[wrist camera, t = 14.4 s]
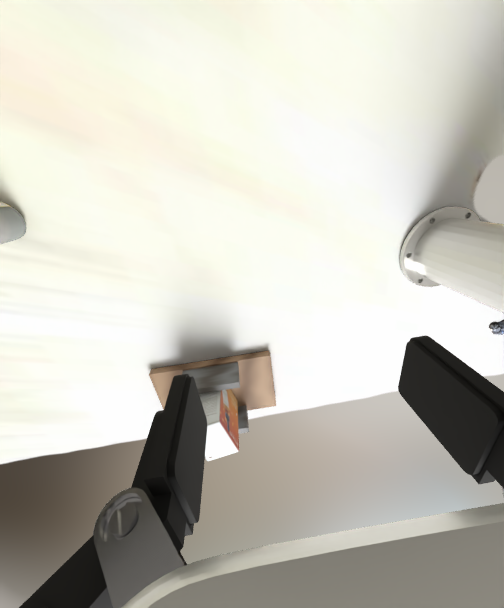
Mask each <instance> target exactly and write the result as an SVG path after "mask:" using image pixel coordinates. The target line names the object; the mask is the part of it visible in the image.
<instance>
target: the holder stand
mask: <svg viewBox="0 0 504 608" xmlns="http://www.w3.org/2000/svg"><path fill="white" fill-rule="evenodd" d="M182 374H189V376H190V377H192V376H193V377H194V379H195V383H196V386H197V389H198V392H199V394H203V393H209V392H215V391H221V390H227V389H231V391H232V392H233V394H234V396H235V397H236V399H237V401H238V434H239V433H245V432H249V428H248V415H247V410H253V409H259V408H265V407H271V406H276V400H275V391H274V383H273V374H272V366H271V357H270V352H269V351H262V352H256V353H250V354H244V355H237V356H231V357H225V358H218V359H212V360H206V361H199V362H193V363H187V364H180V365H174V366H168V367H161V368H155V369H151V371H150V374H149V376H150V378H151V380H152V383H153V385H154V388H155V390H156V392H157V395H158V397H159V400H160V402H161V404H162V407H163V409H164V407H165V404H166V400H167V397H168V394H169V390H170V387H171V383H172V380H173V377H174V376H176V375H182Z"/></svg>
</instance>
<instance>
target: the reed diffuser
mask: <svg viewBox="0 0 504 608" xmlns="http://www.w3.org/2000/svg"><path fill="white" fill-rule="evenodd" d="M25 232H26V224H25V221H24V219H23V217H22V216H21V215H20V213H19V212H18V211H17V210H15V209H14V208H13V207H11V206H10V205H8V204H5V203H3V202H0V244H3V243H6V242H10V241H13V240H16V239H19V238H21V237H22V236H23V235H24V234H25Z"/></svg>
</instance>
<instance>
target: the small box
mask: <svg viewBox="0 0 504 608" xmlns="http://www.w3.org/2000/svg"><path fill="white" fill-rule="evenodd" d="M199 396H200V399H201V402H202V405H203V409H204V412H205V415H206V418H207V436H206V448H205V458H206V460H207V461H210V460H214V459H217V458H220V457H223V456H226V455H229V454H233V453H235V452H238V451H239V439H238V438H239V437H238V401H237V399H236V397H235V396H234V394H233V392H232V391H231V389H227V390H221V391H215V392H209V393H203V394H199Z"/></svg>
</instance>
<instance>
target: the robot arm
mask: <svg viewBox="0 0 504 608" xmlns="http://www.w3.org/2000/svg"><path fill="white" fill-rule="evenodd" d="M400 265H401V270H402V272H403V274H404V275H405V277H406V278H407V279H408V280H410V281H411V282H413V283H415V284H417V285H419V286H423V287H433V286H439V285H443V286H445V287H447V288H449V289H452V290H454V291H456V292H458V293H460V294H463V295H465V296H467V297H469V298H471V299H474V300H476V301H478V302H480V303H482V304H485V305H487V306H489V307H491V308H493V309H495V310H498V311H500V312H502V313H504V224H496V223H490V222H482V221H481V220H480V219H479V217H478V215H477V214H475V213H474V212H473V211H472V210H470V209H468V208H463V207H453V206H451V207H444V208H441V209H438V210H435V211H434V212H432V213H430V214H428V215H427V216H425V217H424V218H423V219H421V220H420V221H419V222H418V223H417V224H416V225H415V226H414V227H413V229H412V230H411V231H410V233H409V234H408V236H407V238H406V239H405V241H404V244H403V246H402V249H401V254H400ZM398 389H399V392H400V394H401V396H402V397H403V398H404V399H405V401H406V402H407V403H408V404H409V405H410V407H411V408H412V409H413V410H414V412H415V413H416V414H417V415H418V416H419V418H420V419H421V420H422V421H423V422H424V423H425V424H426V426H427V427H428V428H429V429H430V431H431V432H432V433H433V434H434V435H435V437H436V438H437V439H438V440H439V442H440V443H441V444H442V445H443V446H444V448H445V449H446V450H447V451H448V452H449V453H450V455H451V456H452V457H453V458H454V460H455V461H456V462H457V463H458V464H459V465H460V467H461V468H462V469H463V470H464V471H465V472H466V473H467V474H470V475H472V477H473V478H474V479H475V480H476V481H477V482H478V484H483V483H488V482H493V481H495V480H496V481H497V482H498V483H499V484H500V485H501V486H502V490H503V497H504V392H503V391H501V390H500V389H499V388H498V387H496V386H495V385H493V384H492V383H491V382H489V381H488V380H487V379H485V378H484V377H483V376H481V375H480V374H479V373H477V372H476V371H475V370H473V369H472V368H471V367H469V366H468V365H466V364H465V363H464V362H462V361H461V360H460V359H458V358H457V357H456V356H454V355H453V354H452V353H450V352H449V351H448V350H446V349H445V348H444V347H442V346H441V345H440V344H438V343H437V342H435V341H434V340H433V339H431V338H430V337H428V336H421V337H414V338H411V339H410V341H409V342H408V343H407V345H406V350H405V356H404V361H403V366H402V371H401V376H400V381H399V386H398ZM206 436H207V418H206V415H205V412H204V409H203V405H202V402H201V399H200V396H199V392H198V389H197V386H196V383H195V379H194V377H193V376H192V377H190V376H189V374H182V375H176V376H174V377H173V380H172V383H171V387H170V390H169V394H168V397H167V400H166V404H165V407H164V410H163V411H158V412H157V413H156V414H155V416H154V419H153V422H152V425H151V428H150V432H149V435H148V438H147V441H146V444H145V447H144V450H143V453H142V456H141V460H140V462H139V465H138V469H137V472H136V475H135V478H134V481H133V484H132V487H131V488H128V489H126V490H123V491H121V492H120V493H118V494H117V495H115V496H114V497H113V498H112V499H111V500H110V501H109V502H108V503H107V504H106V505H105V507H104V508H103V509H102V511H101V512H100V514H99V516H98V519H97V520H96V523H95V527H94V531H93V536H92V537H91V538H90V539H89V540H88V541H87V542H86V543H85V544H84V545H83V546H82V547H81V548H80V549H79V550H78V551H77V552H76V553H75V554H74V555H73V556H72V557H71V558H70V559H69V560H67V561H66V563H64V565H62V566H61V567H60V568H59V569H58V570H57V571H56V572H55V573H54V574H53V575H52V576H51V577H50V578H49V579H48V580H47V581H46V582H45V583H44V584H43V585H42V586H41V587H40V588H39V589H38V590H37V591H36V592H35V593H34V594H33V595H32V596H31V597H30V598H29V599H28V600H27V601H26V602H24V603H23V605H21V606H20V607H19V608H504V503H502V504H496V505H490V506H485V507H478V508H472V509H467V510H461V511H455V512H449V513H443V514H437V515H432V516H426V517H420V518H415V519H409V520H404V521H398V522H392V523H387V524H381V525H375V526H370V527H364V528H358V529H353V530H347V531H342V532H336V533H331V534H325V535H320V536H314V537H309V538H304V539H298V540H293V541H287V542H282V543H276V544H271V545H266V546H261V547H257V548H251V549H246V550H242V551H237V552H232V553H227V554H222V555H219V556H215V557H211V558H207V559H204V560H200V561H196V562H193V563H191V564H188V565H187V563H186V561H185V560H184V558H183V556H182V555H181V552H180V550H181V549H182V548H183V544H184V537H185V536H186V535H192V534H193V526H194V523H197V522H198V521H199V515H200V504H201V493H202V481H203V470H204V459H205V448H206Z"/></svg>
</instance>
